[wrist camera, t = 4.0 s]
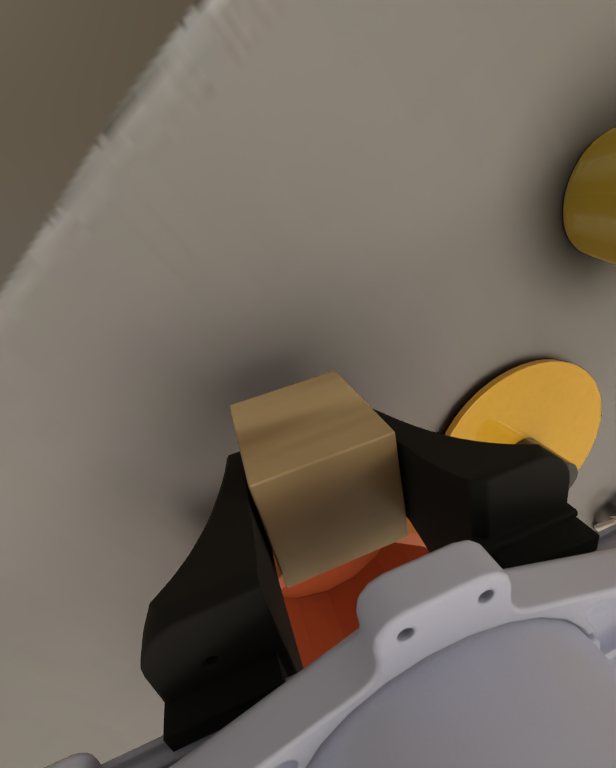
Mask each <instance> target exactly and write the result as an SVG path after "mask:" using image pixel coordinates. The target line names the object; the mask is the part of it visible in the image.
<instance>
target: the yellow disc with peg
mask: <svg viewBox="0 0 616 768" xmlns="http://www.w3.org/2000/svg"><path fill="white" fill-rule="evenodd" d="M600 419H601V398H600V393H599V390H598V387H597V385H596V383H595V381H594V380H593V378H592V377H591V376H590V375H589V374H588V373H587V372H586V371H585V370H584V369H582V368H581V367H579V366H577V365H574V364H572V363H569V362H566V361H562V360H557V359H544V360H537V361H532V362H529V363H525V364H522V365H519V366H517V367H515V368H512V369H510V370H508V371H506V372H505V373H503V374H501V375H499V376H498V377H496V378H495V379H493V380H492V381H490V382H489V383H488V384H486V385H485V386H484V387H483V388H482V389H480V390H479V391H478V392H477V393H476V394H475V395H474V396H473V397H472V398H471V399H470V400H469V401H468V402H467V403H466V404H465V405H464V407H463V408H462V409H461V410H460V411H459V413H458V414H457V415H456V417H455V418H454V420H453V421H452V423H451V424H450V426H449V427H448V429H447V431H446V433H445V435H447V436H451V437H456V438H461V439H467V440H473V441H480V442H489V443H502V444H538V445H540V446H542V447H544V448H545V449H547V450H548V451H550V452H551V453H553V454H554V455H556V456H558V457H559V458H561V459H562V460H563V461H564V462H565V463H566V464H567V466H568V468H569V471H570V483H569V488H570V487H571V486H572V485H573V483H574V482H575V480H576V478H577V474H578V470H579V469H580V467H581V466H582V464H583V463H584V461H585V459H586V458H587V456H588V454H589V452H590V450H591V448H592V446H593V443H594V441H595V438H596V435H597V432H598V429H599V424H600Z"/></svg>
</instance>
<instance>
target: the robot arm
mask: <svg viewBox="0 0 616 768" xmlns="http://www.w3.org/2000/svg"><path fill="white" fill-rule="evenodd" d="M373 410H374V409H373ZM374 411H375V412H376V413H377V414H378V415H379V416H380V417H381V418H382V419H383V420H384V421H385V422H386V423H387V424H388V426H389V427H390V428H391V429H392V430H393V431H394V432H395V437H396V444H397V452H398V459H399V467H400V474H401V482H402V489H403V497H404V504H405V512H406V516H407V518H408V519H409V521H410V522H411V524H412V525H413V527H414V528H415V530H416V532H417V533H418V535H419V536H420V538H421V539H422V541H423V543H424V544H425V546H426V548H427V549H428V551H429V553H428V554H426V555H424V556H421V557H419V558H417V559H415V560H412V561H410V562H408V563H406V564H403V565H401V566H399V567H396V568H394V569H392V570H390V571H387V572H385V573H383V574H381V575H380V576H378V577H377V578H375V579H374V580H372V581H370V582H369V583H368V584H367V585H366V587H365V588H364V589H363V591H362V592H361V593H360V595H359V597H358V600H357V608H356V613H357V617H358V621H359V628H358V629H357V630H356V631H354V632H353V633H351V634H350V635H349V636H347V637H346V638H345V639H343V640H342V641H341V642H339V643H338V644H336V645H335V646H334V647H332V648H331V649H330V650H328V651H327V652H326V653H324V654H323V655H321V656H320V657H319V658H317V659H316V660H315V661H313V662H312V663H311V664H309V665H308V666H307V667H305V668H303V665H302V661H301V658H300V654H299V651H298V647H297V644H296V640H295V637H294V633H293V630H292V626H291V623H290V619H289V616H288V612H287V608H286V605H285V601H284V598H283V594H282V590H281V587H280V583H279V580H278V576H277V571H276V567H275V561H274V555H273V550H272V548H271V545H270V543H269V540H268V537H267V535H266V532H265V529H264V527H263V524H262V521H261V519H260V516H259V514H258V511H257V508H256V506H255V503H254V500H253V498H252V495H251V492H250V490H249V487H248V483H247V479H246V474H245V470H244V466H243V462H242V458H241V453H240V452H237V453H234V454H231V455H229V456H228V458H227V463H226V468H225V473H224V477H223V481H222V484H221V487H220V491H219V494H218V497H217V500H216V502H215V505H214V508H213V510H212V513H211V515H210V517H209V520H208V522H207V524H206V526H205V528H204V530H203V532H202V534H201V536H200V537H199V539H198V541H197V543H196V544H195V546H194V548H193V549H192V551H191V553H190V554H189V556H188V557H187V559H186V560H185V561H184V563H183V564H182V566H181V567H180V568H179V570H178V571H177V572H176V574H175V575H174V576H173V577H172V579H171V580H170V581H169V582H168V583H167V584H166V586H165V587H164V588H163V589H162V590H161V591H160V593H159V594H158V595H157V596H156V597H155V598H154V599H153V600H152V601H151V603H150V604H149V609H148V613H147V617H146V621H145V626H144V631H143V639H142V650H141V670H142V672H143V674H144V676H145V678H146V679H147V680H148V682H149V683H150V684H151V685H152V687H153V688H154V689H155V691H156V692H157V693H158V694H159V696H160V697H161V698H162V700H163V701H164V702H165V709H164V734H163V736H161V737H159V738H157V739H155V740H153V741H151V742H148V743H146V744H144V745H142V746H140V747H138V748H136V749H133V750H131V751H129V752H127V753H125V754H123V755H121V756H119V757H116V758H114V759H112V760H110V761H108V762H106V763H104V764H100V763H99V761H98V760H97V759H96V758H95V757H94V756H93V755H91V754H89V753H78V754H74V755H71V756H69V757H67V758H65V759H62V760H60V761H58V762H56V763H54V764H51V765H49V766H47V767H45V768H616V524H614V525H612V526H610V527H608V528H606V529H604V530H601V531H599V532H597V533H596V532H595V531H594V530H592V529H591V528H590V527H588V526H587V525H586V524H585V523H583V522H582V521H581V520H579V519H578V518H577V517H576V516H577V514H578V512H577V510H576V509H575V508H573V507H572V506H571V505H569V504H568V503H567V498H568V490H569V483H570V471H569V468H568V466H567V464H566V463H565V462H564V461H563V460H562V459H561V458H559V457H558V456H556V455H554V454H553V453H551V452H550V451H548V450H547V449H545V448H544V447H542V446H540V445H538V444H502V443H489V442H480V441H473V440H467V439H461V438H456V437H451V436H447V435H443V434H439V433H435V432H431V431H428V430H425V429H422V428H419V427H416V426H413V425H410V424H408V423H405V422H403V421H400V420H398V419H395V418H393V417H390V416H388V415H386V414H384V413H381V412H379V411H377V410H374Z"/></svg>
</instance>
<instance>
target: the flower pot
mask: <svg viewBox="0 0 616 768" xmlns="http://www.w3.org/2000/svg"><path fill="white" fill-rule="evenodd" d="M563 221H564V227H565V230H566V233H567V236H568V238H569V240H570V241H571V243H572V244H573V245H574V246H575V247H576V248H577V249H578V250H579V251H581V252H583V253H585V254H587V255H590V256H592V257H595V258H598V259H601V260H603V261H606V262H609V263H612V264H615V265H616V127H615V128H613V129H611V130H609V131H607V132H606V133H604V134H603V135H601V136H600V137H599V138H597V139H596V140H595V141H594V142H593V143H592V144H591V145H590V146H589V147H588V148H587V149H586V151H585V152H584V153H583V155H582V156H581V158H580V159H579V161H578V162H577V164H576V166H575V168H574V170H573V172H572V174H571V177H570V180H569V182H568V185H567V189H566V193H565V198H564V205H563Z"/></svg>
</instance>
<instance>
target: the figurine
mask: <svg viewBox="0 0 616 768" xmlns="http://www.w3.org/2000/svg"><path fill="white" fill-rule="evenodd" d="M610 518H614V519H611V520H607V521H604V522H601V523H598V524H595V525H594V528H595V529H596V530H597V531H598V532H599V531H601V530H604V529H606V528H608V527H610V526H612V525H614V524H616V516H610Z"/></svg>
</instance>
